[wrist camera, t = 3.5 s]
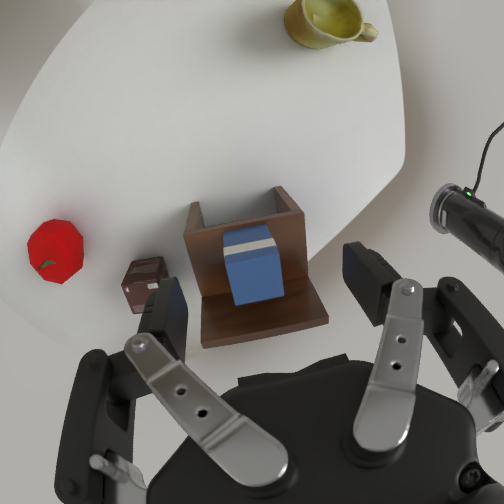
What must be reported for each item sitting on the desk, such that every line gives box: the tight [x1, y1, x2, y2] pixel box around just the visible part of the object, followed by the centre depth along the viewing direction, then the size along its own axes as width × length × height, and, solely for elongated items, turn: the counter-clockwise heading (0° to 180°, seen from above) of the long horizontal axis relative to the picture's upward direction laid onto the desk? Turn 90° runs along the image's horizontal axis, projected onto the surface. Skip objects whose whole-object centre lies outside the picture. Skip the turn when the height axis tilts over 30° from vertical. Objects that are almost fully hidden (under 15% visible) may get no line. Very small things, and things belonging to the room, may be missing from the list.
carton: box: [223, 224, 284, 305], centre depth 29 cm, size 5×5×7 cm
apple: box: [27, 219, 84, 284], centre depth 37 cm, size 11×11×10 cm
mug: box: [284, 0, 378, 49], centre depth 27 cm, size 12×10×10 cm
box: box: [121, 257, 169, 314], centre depth 43 cm, size 6×6×7 cm
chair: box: [183, 186, 329, 349], centre depth 35 cm, size 10×14×20 cm
